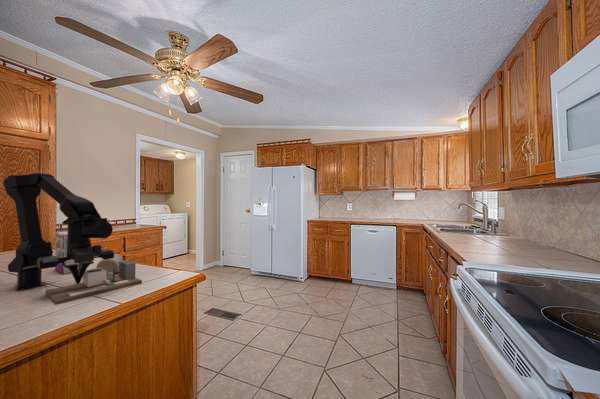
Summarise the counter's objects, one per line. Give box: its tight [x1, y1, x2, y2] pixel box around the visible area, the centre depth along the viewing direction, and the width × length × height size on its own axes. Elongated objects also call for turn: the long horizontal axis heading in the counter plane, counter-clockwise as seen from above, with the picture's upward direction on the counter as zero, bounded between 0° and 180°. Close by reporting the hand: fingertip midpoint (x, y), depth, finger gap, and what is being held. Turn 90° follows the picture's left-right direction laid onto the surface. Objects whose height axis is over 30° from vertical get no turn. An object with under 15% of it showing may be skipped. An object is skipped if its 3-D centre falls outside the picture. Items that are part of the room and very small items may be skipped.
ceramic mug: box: [96, 253, 124, 273], centre depth 102 cm, size 11×8×8 cm
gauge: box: [82, 267, 113, 287], centre depth 86 cm, size 10×8×5 cm
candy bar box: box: [54, 231, 78, 276], centre depth 103 cm, size 11×5×16 cm, turn 58°
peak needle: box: [112, 269, 116, 283], centre depth 85 cm, size 1×1×5 cm, turn 55°
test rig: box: [45, 259, 143, 305], centre depth 85 cm, size 14×23×7 cm, turn 145°
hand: (77, 283), depth 82 cm, fingers closed
